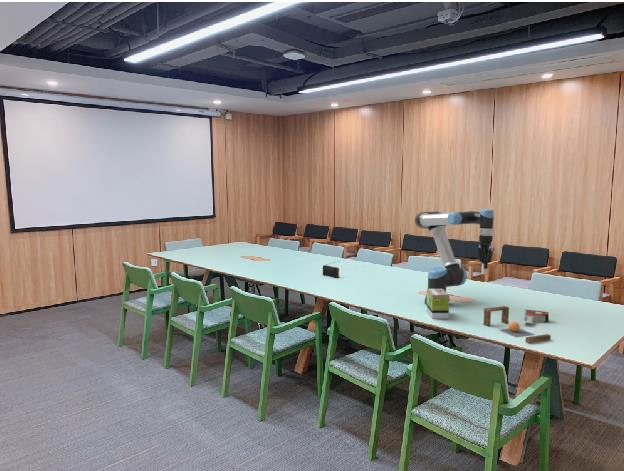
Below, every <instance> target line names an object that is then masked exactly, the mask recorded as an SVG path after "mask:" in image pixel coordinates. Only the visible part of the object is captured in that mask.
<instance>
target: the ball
mask: <svg viewBox="0 0 624 471" xmlns="http://www.w3.org/2000/svg"><path fill="white" fill-rule="evenodd" d="M520 327H521V326H520V323H518V322H517V321H510V322H508V328H509V329H510V330H511V331H512V332H517V331H518V330H519V329H521V328H520Z"/></svg>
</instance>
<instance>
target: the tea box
mask: <svg viewBox="0 0 624 471" xmlns="http://www.w3.org/2000/svg"><path fill="white" fill-rule="evenodd" d="M426 295H427V304H426V312H427V314H428V315H429V317H430V318H431V319H432V320H449V319H450V294H449V293H448V292H447V290H446V291H445V290H443V289H428V288H426Z"/></svg>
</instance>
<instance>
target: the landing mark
mask: <svg viewBox="0 0 624 471" xmlns="http://www.w3.org/2000/svg"><path fill="white" fill-rule="evenodd" d="M499 331H500V332H502V333H505V334H508V335H510V336H512V337H514V338H522V337H530V336H535V333H533V332H529V331H527V330H524V329H522V328H520V329H519V330H518V331H517V332H512V331H511V330H510V329H509V327H508V328H501V329H499Z"/></svg>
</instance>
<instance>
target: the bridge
mask: <svg viewBox="0 0 624 471" xmlns="http://www.w3.org/2000/svg"><path fill="white" fill-rule="evenodd" d="M499 311H501V323H503V324H506V325H507V324H509V317H510V316H509V314H510V307H509V306H506V305H502V306H493V307H486V308H484V309H483V326H486V327H491V318H492V312H499Z"/></svg>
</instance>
